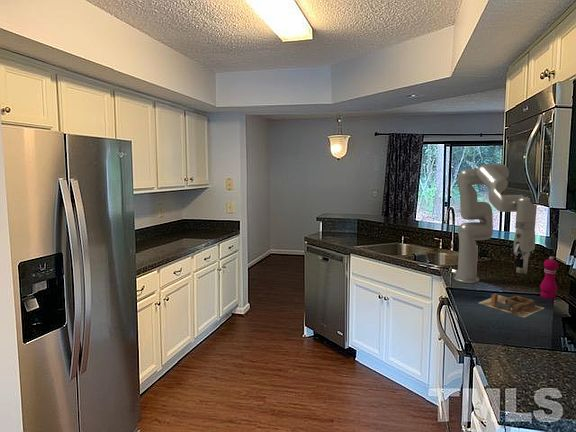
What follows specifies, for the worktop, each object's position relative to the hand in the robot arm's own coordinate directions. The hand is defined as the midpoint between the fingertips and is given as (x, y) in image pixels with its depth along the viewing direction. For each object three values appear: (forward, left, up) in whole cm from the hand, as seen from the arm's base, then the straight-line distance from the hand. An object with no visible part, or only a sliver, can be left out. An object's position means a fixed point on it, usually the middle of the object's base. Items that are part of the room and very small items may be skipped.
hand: (522, 266), depth 193 cm
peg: (0, 0, -3) cm, 3 cm away
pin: (-4, -8, -18) cm, 20 cm away
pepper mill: (0, +27, -20) cm, 34 cm away
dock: (-3, -2, -20) cm, 20 cm away
